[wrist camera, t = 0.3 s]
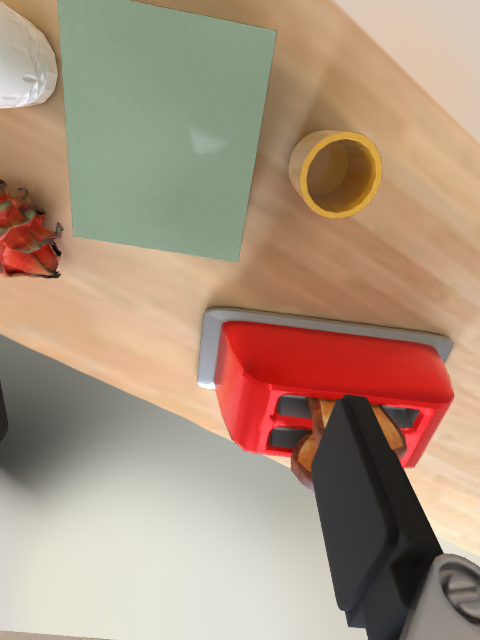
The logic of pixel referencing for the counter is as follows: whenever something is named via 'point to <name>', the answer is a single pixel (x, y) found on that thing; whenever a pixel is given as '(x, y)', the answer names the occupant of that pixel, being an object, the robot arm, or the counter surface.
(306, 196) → the cup
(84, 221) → the shelf
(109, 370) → the counter surface
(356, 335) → the toaster
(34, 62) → the white cup
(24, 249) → the dragon fruit
